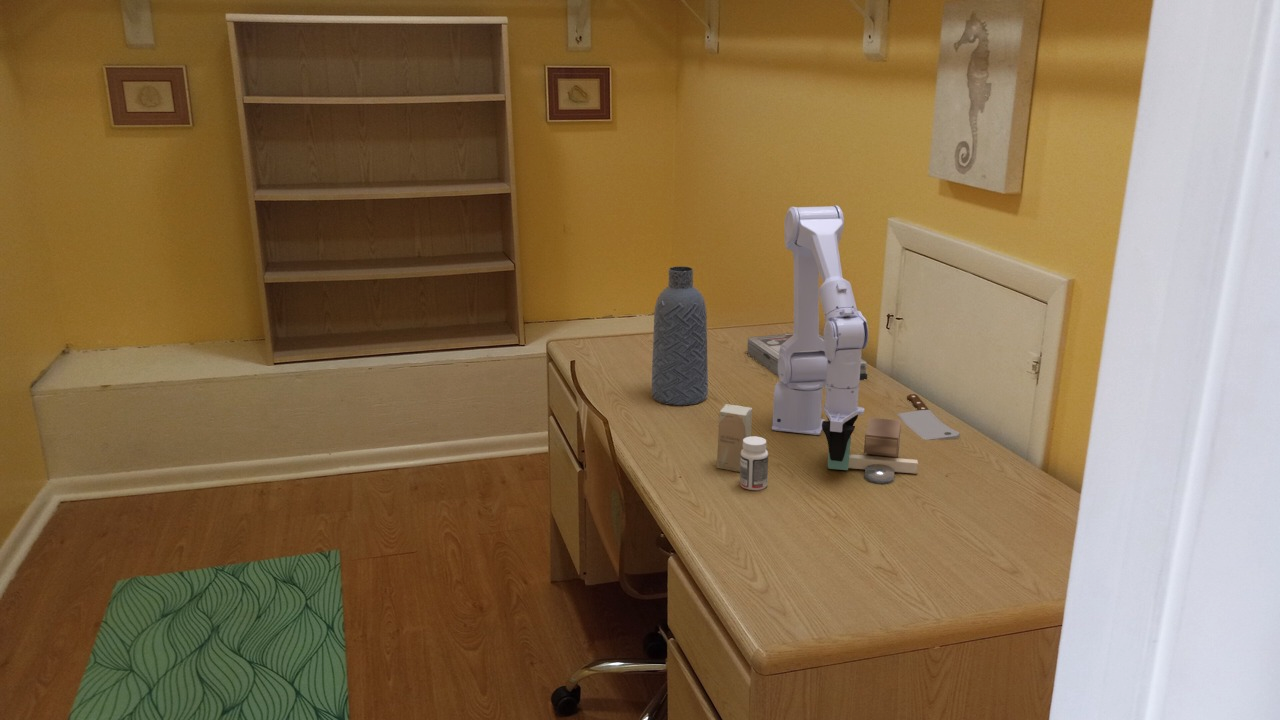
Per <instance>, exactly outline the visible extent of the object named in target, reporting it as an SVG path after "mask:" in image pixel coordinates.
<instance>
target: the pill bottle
mask: <svg viewBox="0 0 1280 720" xmlns="http://www.w3.org/2000/svg"><path fill="white" fill-rule="evenodd" d="M768 472H769V452H768V450H767V439H765V438H764V437H761V436H755V435H754V436H750V437H746V438H744V439H743V449H742V451H741V460H740V473H739V484H740V486H741V487H742V488H743V489H745V490H749V491H761V490H764V489H765V488H766V487H767V486H768V478H769V477H768V476H769V475H768V474H769V473H768Z"/></svg>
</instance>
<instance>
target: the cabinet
mask: <svg viewBox="0 0 1280 720" xmlns="http://www.w3.org/2000/svg"><path fill="white" fill-rule="evenodd" d="M867 422H868V423H867V425H866V431H865V434H864V448H863V454H866V455H868V456H877V457H888V458H899V456H900V455H899V454H900V453H899V452H900V444H901V443H900V442H901V429H902V420H899V419H898V420H896V419H887V418H886V419H885V418H877V417H869V418H868V421H867Z"/></svg>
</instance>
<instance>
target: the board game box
mask: <svg viewBox="0 0 1280 720" xmlns="http://www.w3.org/2000/svg"><path fill="white" fill-rule="evenodd" d="M793 335H794V332H792V333H783V334H770V335H761V336H751V337H749V336H748V337H747V347H746V349H747V350H746V351H747V352H746V353H748V354H749V355H750V356H749V355H748V354H747V355H748V356H749V357H750V358H752V357H753V358H754V359H753V358H752V359H753V360H754V361H756V360H757V361H756V362H757V363H759V364H760V363H761V364H760V365H762V366H763V367H764V366H765V367H764V368H766V369H767V370H769V372H771V371H772V372H771V373H773V374H774V375H775V376H777V377H778V378H779V375H778V359H779V351H780V346H781V345H782V344H783V343H784V342H785V341H787V340H788V339H789V338H790V337H792V336H793ZM819 337H821V338H822V339H823V340H824V335H821V334H819ZM817 351H819V350H817ZM798 352H814V351H798ZM866 372H867V361H866V360H865V359H863V358H861V366H860V381H865V380H864V379H866V380H868V373H866Z"/></svg>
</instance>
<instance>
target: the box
mask: <svg viewBox="0 0 1280 720" xmlns="http://www.w3.org/2000/svg"><path fill="white" fill-rule="evenodd" d="M752 415H753V408H752V407H749V406H742V405H737V404H736V405H735V404H729V403H727V404H726V403H725V404H724V405H723V407H722V408H721V409H720V410H719V419H718V420H719V421H718V435H717V436H718V437H717V455H716V456H717V457H716V468H717V469H721V470H727V471H734V472H737V473H738V472H740V460H741V451H742V449H743V439H744V438H746V437H750V436H751V435H752V434H751V433H752V420H753V417H752Z"/></svg>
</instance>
